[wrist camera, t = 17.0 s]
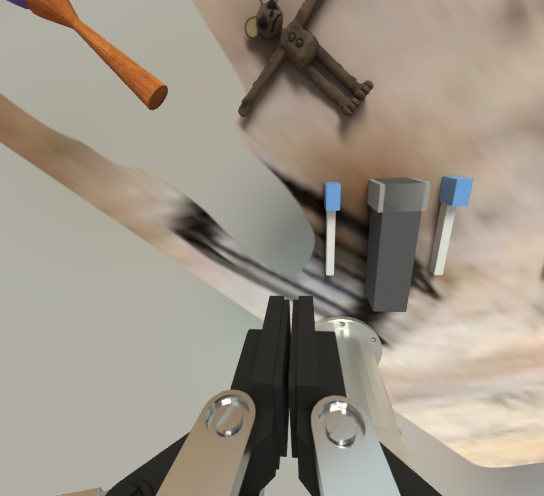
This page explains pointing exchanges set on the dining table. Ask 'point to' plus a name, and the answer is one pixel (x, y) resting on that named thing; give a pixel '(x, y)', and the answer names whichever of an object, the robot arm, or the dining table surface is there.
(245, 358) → the robot arm
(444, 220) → the white blue-tipped sticks
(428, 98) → the dining table surface
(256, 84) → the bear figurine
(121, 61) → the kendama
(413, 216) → the dark grey rectangular block
